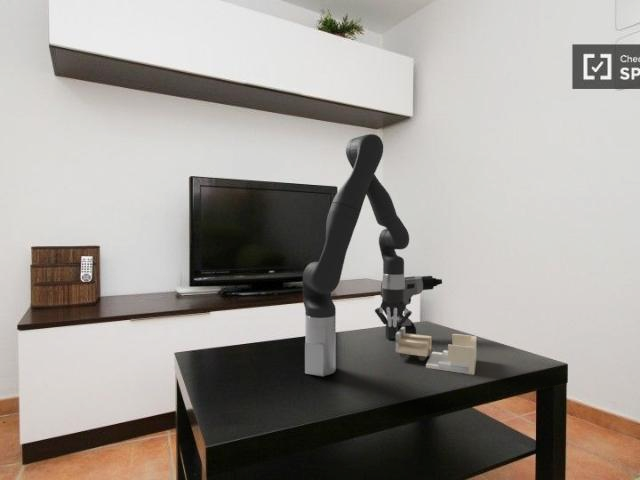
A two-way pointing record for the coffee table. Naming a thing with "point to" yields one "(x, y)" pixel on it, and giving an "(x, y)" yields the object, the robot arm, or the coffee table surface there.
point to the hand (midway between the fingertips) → (392, 337)
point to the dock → (456, 356)
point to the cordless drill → (411, 288)
